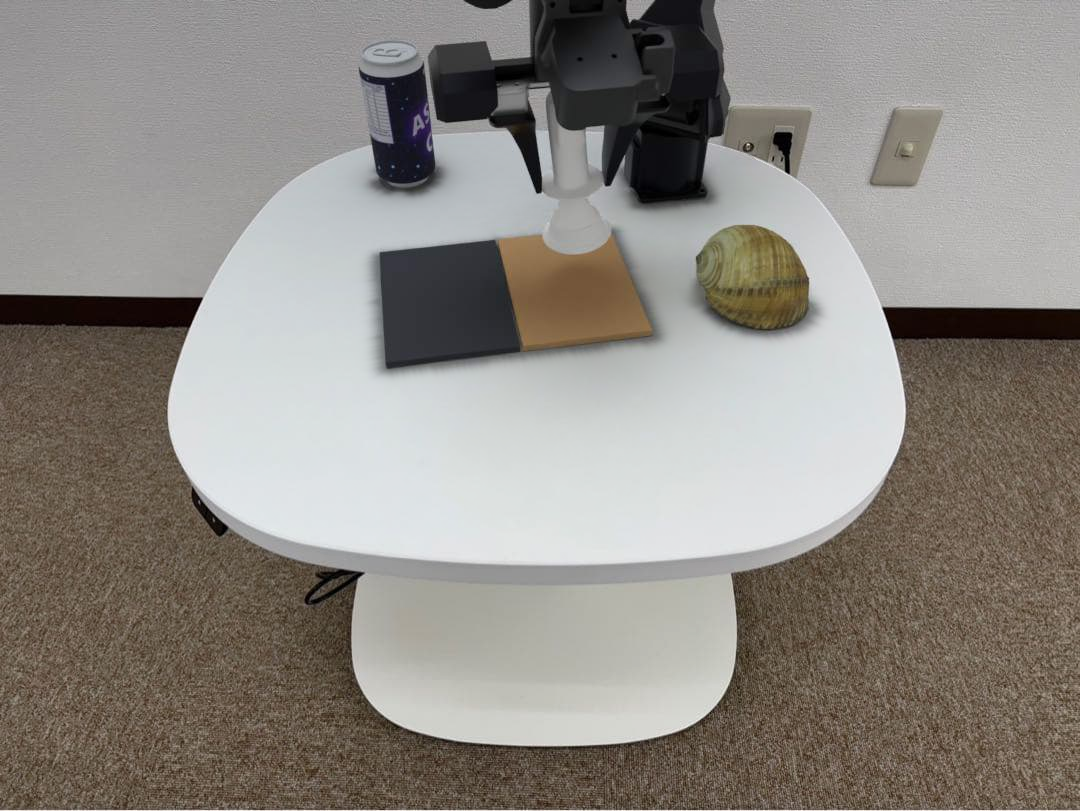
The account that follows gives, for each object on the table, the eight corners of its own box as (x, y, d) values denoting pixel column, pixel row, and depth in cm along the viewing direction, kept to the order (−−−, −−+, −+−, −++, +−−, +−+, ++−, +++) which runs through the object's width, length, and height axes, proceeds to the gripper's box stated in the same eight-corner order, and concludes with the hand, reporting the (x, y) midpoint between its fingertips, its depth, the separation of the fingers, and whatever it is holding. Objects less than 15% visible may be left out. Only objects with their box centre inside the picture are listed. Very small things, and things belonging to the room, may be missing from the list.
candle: (584, 204, 64) (571, 59, 55) (625, 235, 61) (619, 85, 52) (529, 232, 63) (507, 87, 54) (568, 265, 59) (551, 116, 50)
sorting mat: (609, 233, 70) (609, 227, 70) (651, 335, 61) (652, 329, 60) (380, 257, 68) (379, 251, 68) (386, 368, 58) (385, 362, 58)
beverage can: (426, 194, 75) (410, 66, 66) (369, 188, 76) (346, 61, 67) (443, 164, 79) (430, 40, 70) (389, 159, 80) (369, 35, 71)
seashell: (784, 332, 67) (792, 235, 66) (831, 333, 60) (841, 225, 59) (675, 325, 65) (682, 225, 64) (711, 325, 58) (720, 213, 57)
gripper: (428, 16, 41) (455, 266, 52) (777, -12, 43) (731, 235, 54) (414, -54, 48) (441, 178, 60) (711, -74, 50) (682, 154, 62)
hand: (572, 187), depth 58 cm, fingers closed on candle, 5 cm apart
